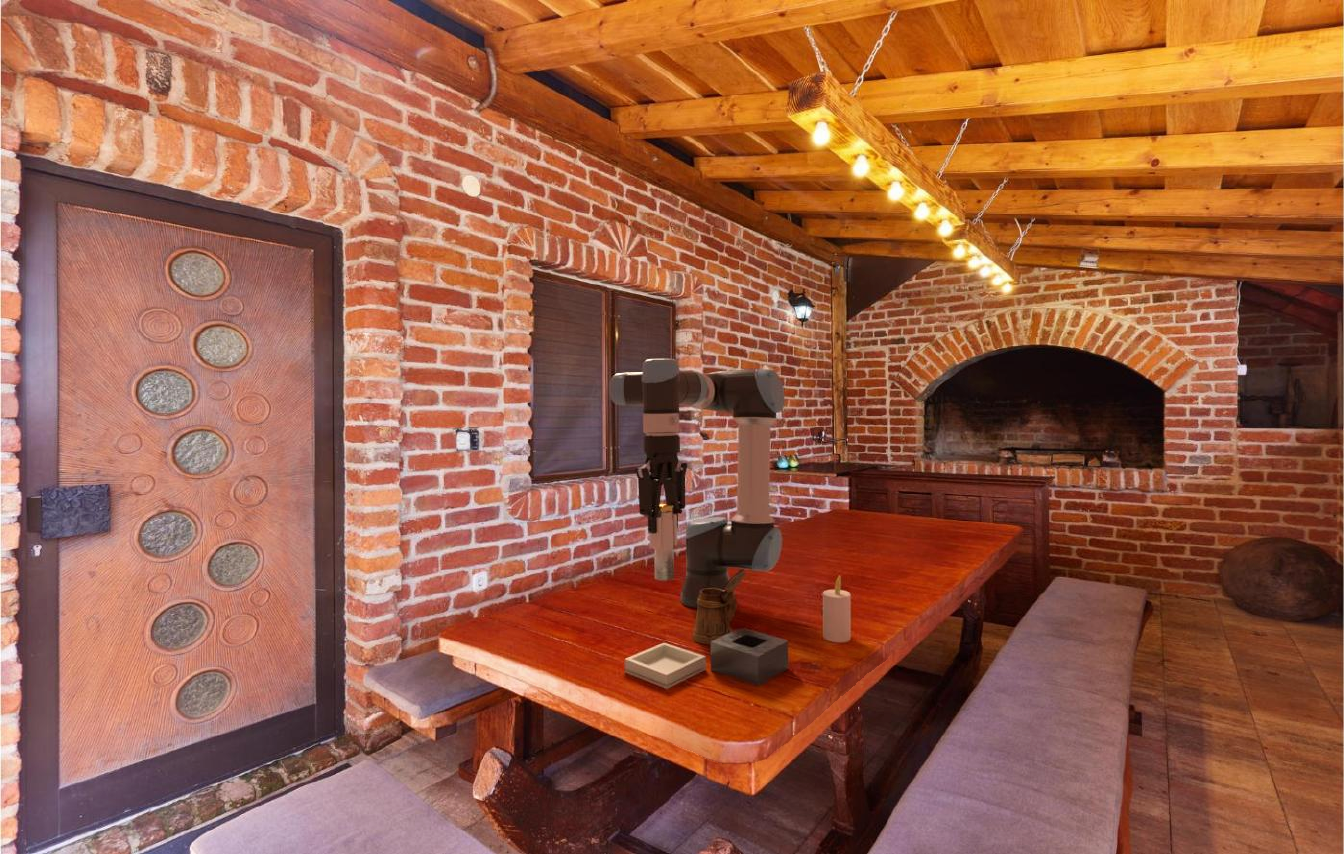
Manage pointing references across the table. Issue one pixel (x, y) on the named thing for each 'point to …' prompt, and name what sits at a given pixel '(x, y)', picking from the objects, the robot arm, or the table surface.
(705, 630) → the wooden mug
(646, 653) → the tray
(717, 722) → the table surface
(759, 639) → the block
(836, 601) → the candle
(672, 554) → the gold capped cylinder
